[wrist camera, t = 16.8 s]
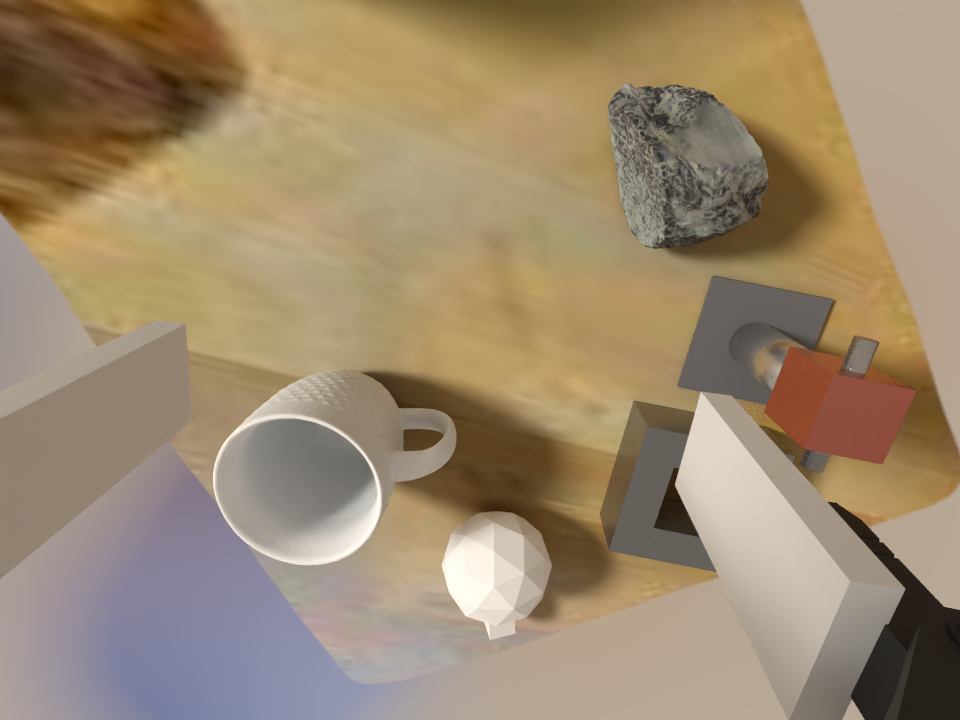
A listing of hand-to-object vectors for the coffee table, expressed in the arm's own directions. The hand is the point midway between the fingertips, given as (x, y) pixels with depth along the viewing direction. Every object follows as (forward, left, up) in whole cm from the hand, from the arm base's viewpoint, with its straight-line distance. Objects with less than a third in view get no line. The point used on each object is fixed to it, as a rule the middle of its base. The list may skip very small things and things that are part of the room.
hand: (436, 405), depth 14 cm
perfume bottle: (+26, +5, -30) cm, 40 cm away
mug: (+15, -8, -30) cm, 34 cm away
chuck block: (+15, +19, -30) cm, 38 cm away
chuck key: (+3, +21, -29) cm, 36 cm away
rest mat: (+3, +21, -30) cm, 37 cm away
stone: (-8, +11, -30) cm, 33 cm away
